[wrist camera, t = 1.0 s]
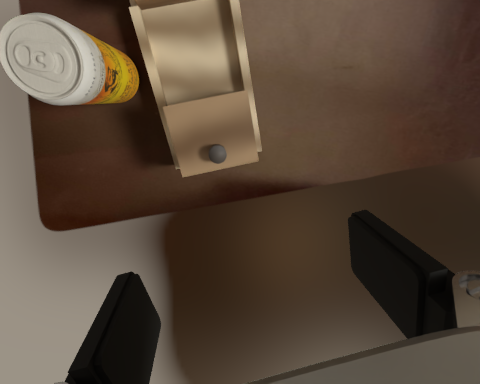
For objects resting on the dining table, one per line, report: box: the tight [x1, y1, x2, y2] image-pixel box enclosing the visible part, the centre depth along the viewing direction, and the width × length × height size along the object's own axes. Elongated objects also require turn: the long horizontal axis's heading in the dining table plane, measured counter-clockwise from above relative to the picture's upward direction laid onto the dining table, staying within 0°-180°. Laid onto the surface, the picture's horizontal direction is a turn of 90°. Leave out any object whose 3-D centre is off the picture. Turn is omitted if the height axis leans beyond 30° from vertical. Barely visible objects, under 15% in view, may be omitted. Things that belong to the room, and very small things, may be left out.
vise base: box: [129, 0, 262, 169], centre depth 29 cm, size 20×12×8 cm, turn 11°
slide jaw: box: [163, 90, 259, 177], centre depth 30 cm, size 8×9×7 cm
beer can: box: [0, 13, 139, 105], centre depth 24 cm, size 6×6×15 cm
